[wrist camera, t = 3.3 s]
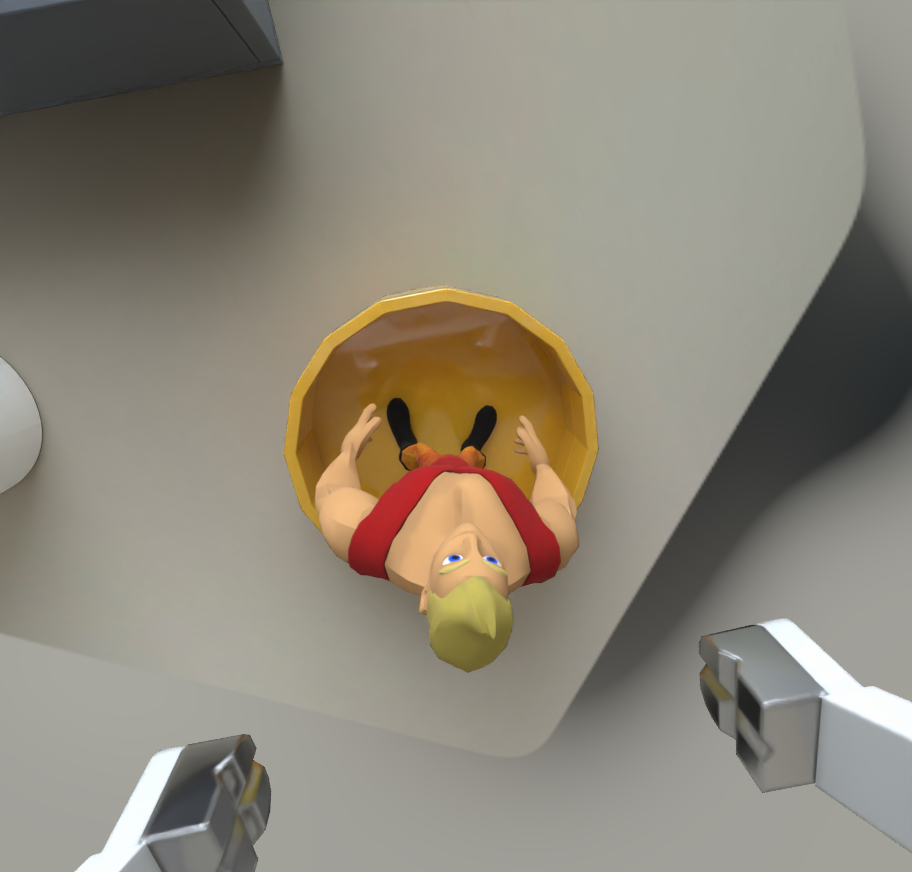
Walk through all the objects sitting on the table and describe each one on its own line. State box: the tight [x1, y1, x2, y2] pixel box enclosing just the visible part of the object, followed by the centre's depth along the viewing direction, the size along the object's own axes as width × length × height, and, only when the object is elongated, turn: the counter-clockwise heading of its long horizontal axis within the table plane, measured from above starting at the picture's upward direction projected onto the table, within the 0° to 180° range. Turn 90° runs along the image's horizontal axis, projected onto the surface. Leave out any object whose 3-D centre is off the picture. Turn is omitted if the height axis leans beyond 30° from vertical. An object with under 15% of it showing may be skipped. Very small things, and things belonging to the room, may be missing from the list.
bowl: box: [284, 285, 599, 533], centre depth 23 cm, size 13×13×4 cm
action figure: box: [315, 398, 579, 673], centre depth 18 cm, size 10×4×15 cm, turn 84°
